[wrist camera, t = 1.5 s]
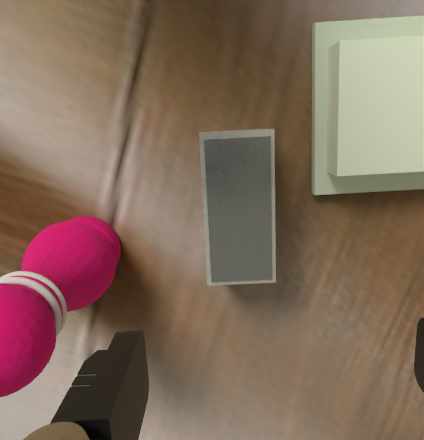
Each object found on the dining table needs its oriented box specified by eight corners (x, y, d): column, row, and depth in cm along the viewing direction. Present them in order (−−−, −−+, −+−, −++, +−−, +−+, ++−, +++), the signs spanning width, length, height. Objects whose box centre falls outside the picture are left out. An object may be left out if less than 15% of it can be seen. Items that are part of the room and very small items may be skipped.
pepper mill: (139, 233, 36) (54, 360, 16) (107, 295, 37) (-7, 481, 18) (68, 196, 35) (-113, 285, 15) (37, 262, 36) (-161, 419, 17)
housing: (201, 131, 34) (198, 132, 27) (263, 128, 34) (275, 128, 27) (208, 260, 37) (207, 288, 30) (265, 257, 36) (277, 285, 30)
